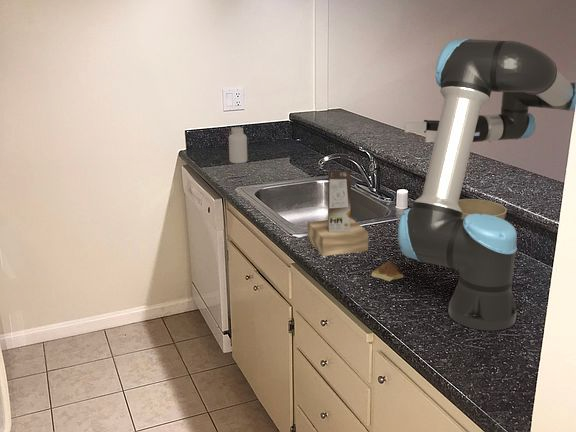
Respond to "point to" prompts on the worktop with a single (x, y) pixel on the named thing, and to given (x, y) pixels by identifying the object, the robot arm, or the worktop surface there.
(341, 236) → the maple block
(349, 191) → the coffee box
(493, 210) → the plant pot
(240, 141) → the pill bottle
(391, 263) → the shard
